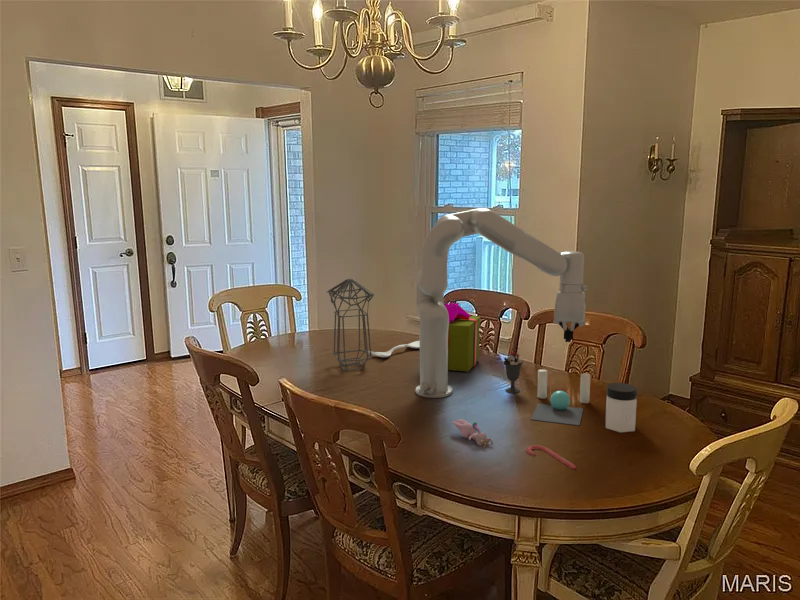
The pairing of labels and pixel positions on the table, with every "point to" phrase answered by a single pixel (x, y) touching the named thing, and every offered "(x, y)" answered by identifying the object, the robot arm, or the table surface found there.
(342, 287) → the geometric lantern
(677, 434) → the table surface
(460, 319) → the gift box
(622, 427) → the jar
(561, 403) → the ball
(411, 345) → the spoon
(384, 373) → the table surface
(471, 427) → the pink elongated figure
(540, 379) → the left post
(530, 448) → the candy cane
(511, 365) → the sundae
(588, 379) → the right post
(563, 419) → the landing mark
